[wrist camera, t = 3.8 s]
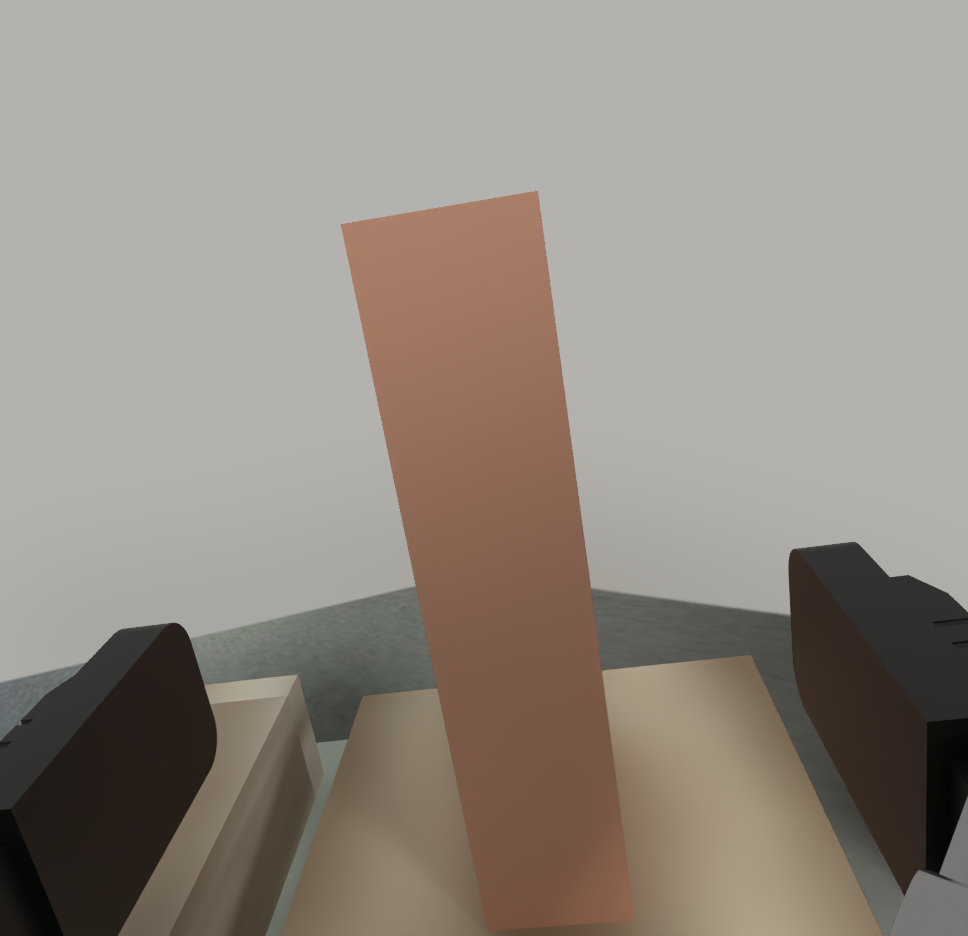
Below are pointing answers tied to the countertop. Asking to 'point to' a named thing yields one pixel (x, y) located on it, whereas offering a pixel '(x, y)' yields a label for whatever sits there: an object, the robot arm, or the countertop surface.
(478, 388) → the tall salmon pillar
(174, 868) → the beige open box
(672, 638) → the countertop surface
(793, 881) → the wooden square slab
